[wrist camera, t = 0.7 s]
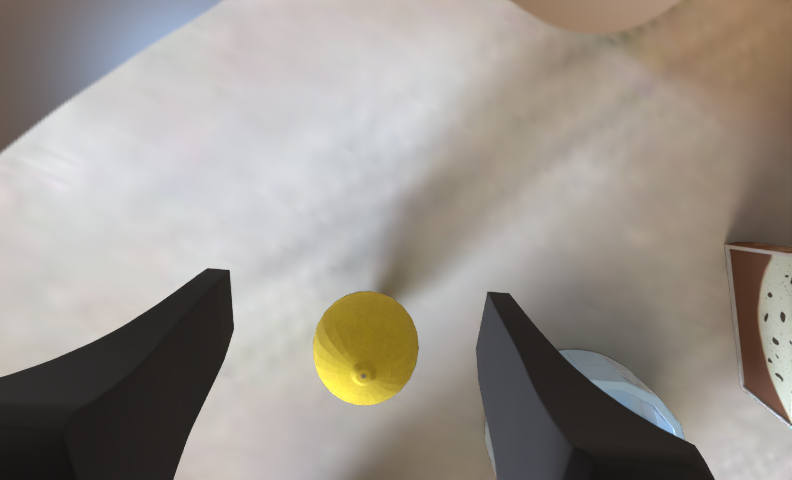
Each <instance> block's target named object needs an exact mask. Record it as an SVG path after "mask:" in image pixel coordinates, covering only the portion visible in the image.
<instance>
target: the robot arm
mask: <svg viewBox="0 0 792 480" xmlns="http://www.w3.org/2000/svg"><path fill="white" fill-rule="evenodd" d="M233 330H234V322H233V309H232V296H231V283H230V270H222V269H210V268H207V269H206V270H204V271H203V272H201V273H200V274H199V275H197V276H196V277H195V278H193V279H192V280H190V281H189V282H188V283H186V284H185V285H184V286H182V287H181V288H180V289H178V290H177V291H175V292H174V293H173V294H171V295H170V296H168V297H167V298H166V299H164V300H163V301H161V302H160V303H159V304H157V305H156V306H154V307H152V308H151V309H149V310H148V311H146V312H145V313H143V314H142V315H140V316H138V317H137V318H135V319H134V320H132V321H131V322H129V323H127V324H126V325H124V326H122V327H120V328H119V329H117V330H115V331H113V332H111V333H109V334H108V335H106V336H104V337H102V338H100V339H98V340H96V341H94V342H92V343H90V344H88V345H85V346H83V347H81V348H78V349H76V350H74V351H72V352H69V353H67V354H65V355H62V356H60V357H58V358H55V359H53V360H50V361H48V362H45V363H42V364H40V365H37V366H34V367H31V368H28V369H25V370H22V371H19V372H16V373H13V374H10V375H7V376H4V377H0V480H173V479H174V476H175V473H176V470H177V467H178V464H179V461H180V458H181V455H182V453H183V450H184V447H185V444H186V441H187V439H188V436H189V434H190V432H191V429H192V427H193V425H194V422H195V420H196V418H197V416H198V414H199V412H200V410H201V408H202V406H203V404H204V402H205V400H206V397H207V395H208V393H209V391H210V389H211V387H212V385H213V383H214V381H215V379H216V377H217V374H218V372H219V370H220V368H221V366H222V364H223V361H224V359H225V356H226V353H227V350H228V347H229V344H230V340H231V337H232V334H233ZM476 355H477V369H478V380H479V386H480V391H481V395H482V400H483V405H484V410H485V415H486V419H487V424H488V429H489V434H490V438H491V443H492V448H493V454H494V460H495V467H496V477H497V480H715V479H714V477H713V475H712V473H711V471H710V469H709V468H708V466H707V464H706V462H705V460H704V459H703V457H702V456H701V454H700V452H699V451H698V449H697V448H696V446H695V445H693V444H691V443H689V442H687V441H685V440H683V439H681V438H679V437H677V436H675V435H673V434H671V433H669V432H668V431H666V430H664V429H662V428H660V427H658V426H656V425H654V424H653V423H651V422H649V421H648V420H646V419H644V418H643V417H641V416H639V415H638V414H636V413H635V412H633V411H631V410H630V409H628V408H627V407H625V406H624V405H622V404H621V403H619V402H618V401H617V400H615V399H614V398H612V397H611V396H610V395H608V394H607V393H605V392H604V391H603V390H601V389H600V388H599V387H598V386H596V385H595V384H594V383H592V382H591V381H590V380H589V379H588V378H587V377H585V376H584V375H583V374H582V373H581V372H580V371H578V370H577V369H576V368H575V367H574V366H573V365H572V364H571V363H570V362H569V361H568V360H567V359H566V358H565V357H564V356H563V355H562V354H561V353H560V352H559V351H558V350H557V349H556V348H555V347H554V346H553V345H552V344H551V343H550V342H549V341H548V340H547V339H546V338H545V336H544V335H543V334H542V333H541V332H540V331H539V330H538V328H537V327H536V326H535V325H534V324H533V322H532V321H531V320H530V319H529V317H528V316H527V315H526V314H525V313H524V311H523V310H522V309H521V307H520V306H519V305H518V304H517V302H516V301H515V300H514V299H513V297H512V296H511V295H510V294H509V293H498V292H487V297H486V302H485V307H484V312H483V317H482V322H481V327H480V332H479V337H478V341H477V346H476Z"/></svg>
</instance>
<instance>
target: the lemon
mask: <svg viewBox="0 0 792 480" xmlns="http://www.w3.org/2000/svg"><path fill="white" fill-rule="evenodd" d="M418 349H419V347H418V336H417V331H416V328H415V326H414V323H413V320H412V318H411V317H410V315H409V314H408V313H407V311H406V310H405V309H404V307H403V306H402V305H400V304H399V303H398V302H397V301H395V300H394V299H393V298H391V297H389V296H386V295H384V294H382V293H377V292H372V291H365V292H356V293H353V294H349V295H346V296H344V297H343V298H341V299H339V300H338V301H336V302H335V303H334V304H333V305H332V306H331V307H330V308H329V309H328V310H327V311H326V312H325V313H324V315H323V317H322V318H321V320H320V322H319V323H318V326H317V329H316V333H315V336H314V341H313V357H314V361H315V365H316V369H317V372H318V374H319V376H320V378H321V380H322V381H323V383H324V385H325V386H326V387H327V388H328V389H329V390H330V391H331V392H332V393H333V394H334V395H335V396H337V397H339V398H340V399H342V400H344V401H346V402H349V403H352V404H355V405H372V404H378V403H381V402H383V401H385V400H388V399H390V398H391V397H393V396H394V395H395V394H397V393H398V392H399V391H400V390H401V389H402V388H403V387H404V385H405V384H406V383H407V382H408V380H409V379H410V377H411V375H412V373H413V370H414V368H415V366H416V362H417V355H418Z"/></svg>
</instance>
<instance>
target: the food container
mask: <svg viewBox="0 0 792 480" xmlns="http://www.w3.org/2000/svg"><path fill="white" fill-rule="evenodd" d="M724 245H725V253H726V262H727V271H728V280H729V289H730V298H731V307H732V316H733V325H734V334H735V343H736V352H737V361H738V369H739V378H740V387H741V388H742V389H743V390H744V391H745V392H747V393H748V394H749V395H750V396H751V397H753V398H754V399H755V400H756V401H758V402H759V403H760V404H761V405H762V406H764V407H765V408H766V409H767V410H769V411H770V412H771V413H772V414H773V415H775V416H776V417H777V418H778V419H780V420H781V421H782V422H783V423H784V424H786V425H787V426H788V427H789V428H791V429H792V247H785V246H777V245H769V244H761V243H753V242H737V243H730V244H724Z"/></svg>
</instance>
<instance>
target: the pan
mask: <svg viewBox="0 0 792 480" xmlns="http://www.w3.org/2000/svg"><path fill="white" fill-rule="evenodd" d="M559 352H560V353H561V354H562V355H563V356H564V357H565V358H566V359H567V360H568V361H569V362H570V363H571V364H572V365H573V366H574V367H575V368H576V369H577V370H578V371H580V372H581V373H582V374H583V375H584V376H585V377H587V378H588V379H589V380H590V381H591V382H592V383H594V384H595V385H596V386H598V387H599V388H600V389H601V390H603V391H604V392H605V393H607V394H608V395H610V396H611V397H612V398H614V399H615V400H617V401H618V402H619V403H621V404H622V405H624V406H625V407H627V408H628V409H630V410H631V411H633V412H635V413H636V414H638V415H639V416H641V417H643V418H644V419H646V420H648V421H649V422H651V423H653V424H654V425H656V426H658V427H660V428H662V429H664V430H666V431H668V432H669V433H671V434H673V435H675V436H677V437H679V438H681V439H683V440H685V438H684V434H683V429H682V426H681V424H680V423H679V421H678V420H677V419H676V418H675V416H674V415H673V414H672V413H671V411H670V410H669V409H668V408H667V406H666V405H665V404H664V403H663V402H662V400H661V399H660V398H659V397H658V396H657V395H656V394H655V393H653V392H652V391H651V390H650V389H649V388H648V387H647V386H646V385H645V384H644V383H643V382H642V381H640V380H639V379H638V378H637V377H636V376H635V375H634V374H633V373H632V372H631V371H630V370H629V369H627V368H626V367H624V366H622V365H620V364H619V363H617V362H616V361H614V360H612V359H611V358H609V357H606V356H604V355H601V354H598V353H595V352H591V351H585V350H560V351H559ZM485 444H486V447H487V450H488V454H489V457H490V460H491V463H492V466H493V470H494V473H495V475H496V467H495V460H494V454H493V448H492V443H491V438H490V434H489V429H488V424H487V419H486V421H485ZM496 478H497V477H496Z"/></svg>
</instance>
